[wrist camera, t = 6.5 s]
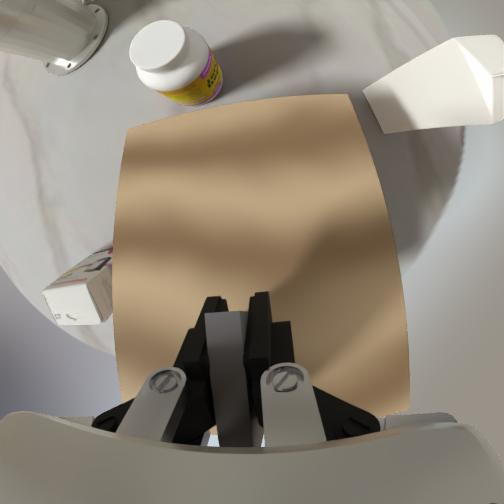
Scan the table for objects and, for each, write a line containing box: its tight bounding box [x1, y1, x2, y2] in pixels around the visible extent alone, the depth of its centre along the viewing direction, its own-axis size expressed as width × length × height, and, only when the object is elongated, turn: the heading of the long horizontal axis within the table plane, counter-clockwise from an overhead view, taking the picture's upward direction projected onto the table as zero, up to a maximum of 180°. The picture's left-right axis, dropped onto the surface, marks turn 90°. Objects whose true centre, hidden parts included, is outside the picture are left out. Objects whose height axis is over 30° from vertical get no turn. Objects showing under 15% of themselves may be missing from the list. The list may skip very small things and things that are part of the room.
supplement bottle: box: [129, 20, 223, 107], centre depth 21 cm, size 7×7×13 cm
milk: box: [362, 35, 504, 134], centre depth 16 cm, size 6×6×22 cm
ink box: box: [42, 249, 113, 325], centre depth 30 cm, size 9×5×12 cm, turn 102°
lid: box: [112, 94, 410, 447], centre depth 12 cm, size 20×16×7 cm
